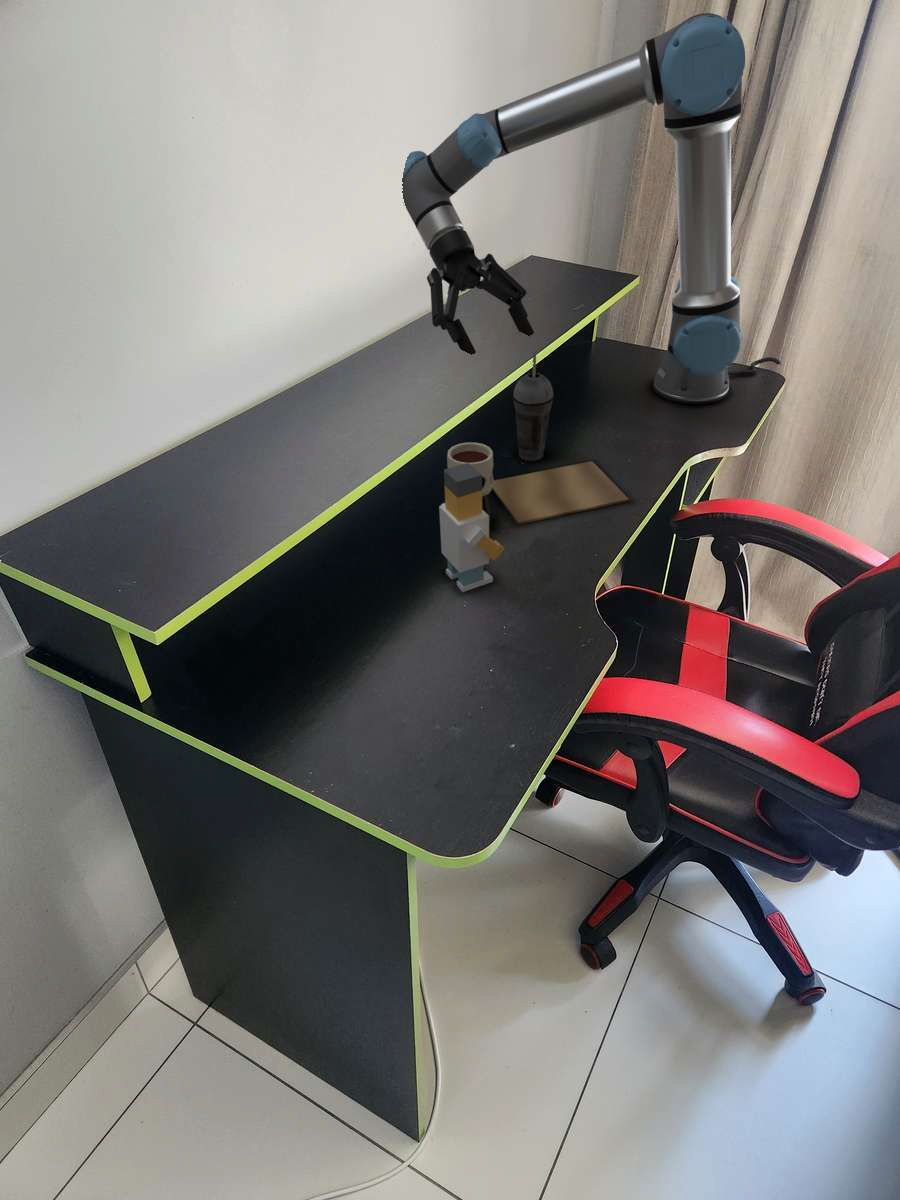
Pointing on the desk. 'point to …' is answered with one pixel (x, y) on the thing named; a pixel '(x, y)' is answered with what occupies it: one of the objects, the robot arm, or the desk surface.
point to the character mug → (475, 465)
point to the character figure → (466, 528)
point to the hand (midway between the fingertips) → (500, 346)
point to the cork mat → (557, 492)
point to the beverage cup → (532, 413)
